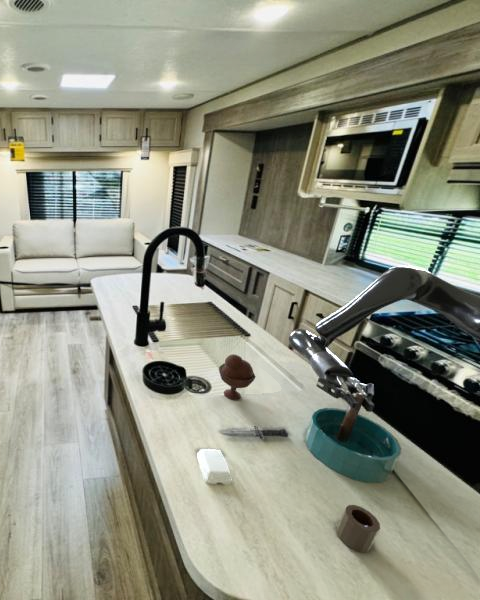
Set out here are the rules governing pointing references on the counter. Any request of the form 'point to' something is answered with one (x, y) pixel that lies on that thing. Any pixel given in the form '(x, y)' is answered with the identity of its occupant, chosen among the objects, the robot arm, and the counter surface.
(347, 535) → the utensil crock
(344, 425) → the brown rounded rod
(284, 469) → the counter surface
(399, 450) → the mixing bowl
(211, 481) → the soap
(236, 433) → the knife
